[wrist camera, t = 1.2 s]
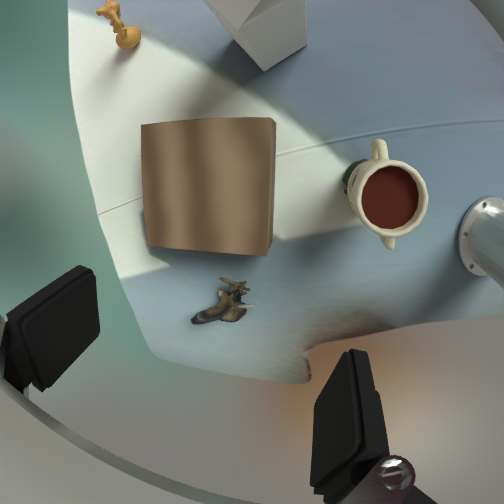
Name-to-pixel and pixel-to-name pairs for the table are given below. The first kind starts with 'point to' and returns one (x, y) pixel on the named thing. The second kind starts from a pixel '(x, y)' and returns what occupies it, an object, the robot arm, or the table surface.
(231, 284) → the eagle figurine
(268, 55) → the milk carton
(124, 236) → the table surface
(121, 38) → the figurine
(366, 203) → the character mug
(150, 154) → the walnut block
